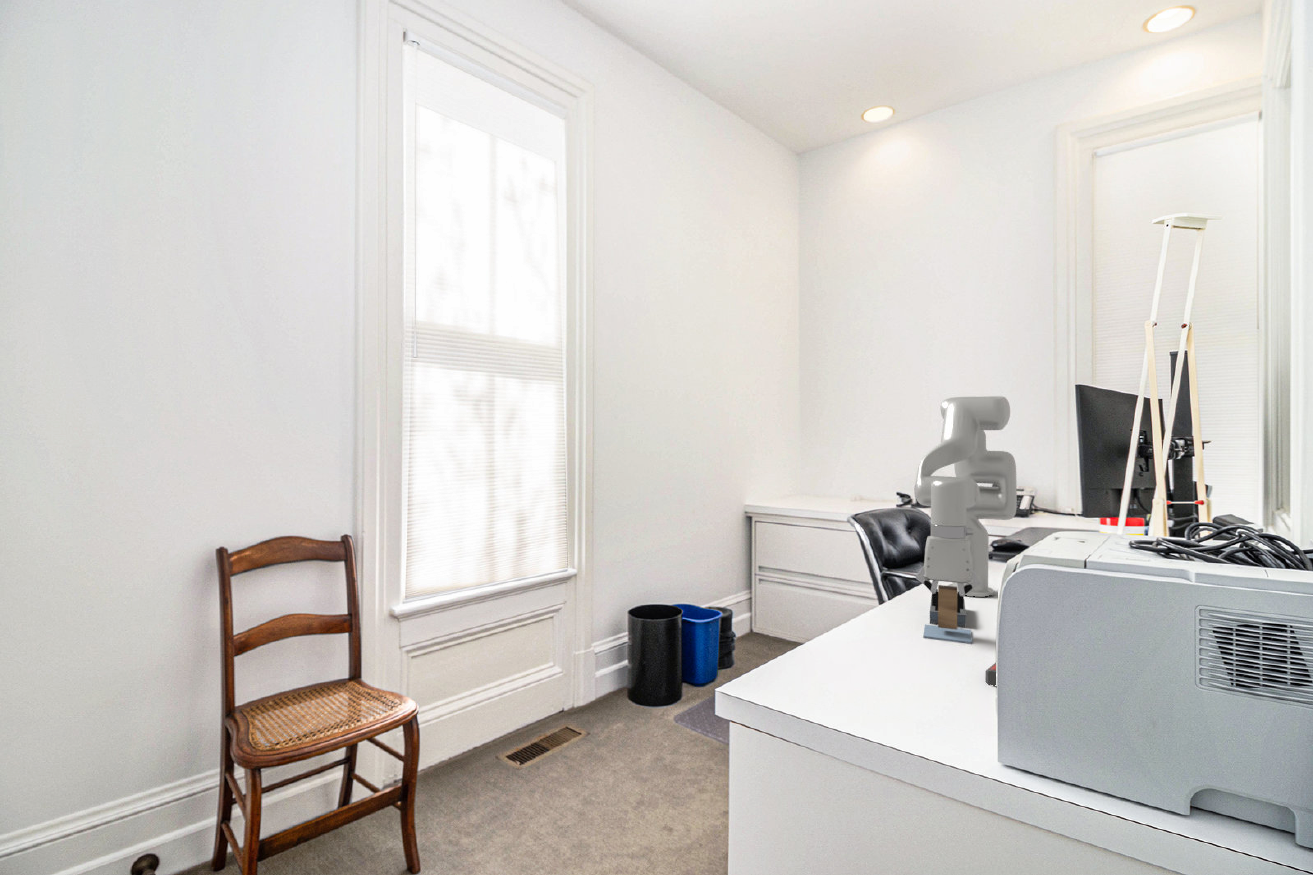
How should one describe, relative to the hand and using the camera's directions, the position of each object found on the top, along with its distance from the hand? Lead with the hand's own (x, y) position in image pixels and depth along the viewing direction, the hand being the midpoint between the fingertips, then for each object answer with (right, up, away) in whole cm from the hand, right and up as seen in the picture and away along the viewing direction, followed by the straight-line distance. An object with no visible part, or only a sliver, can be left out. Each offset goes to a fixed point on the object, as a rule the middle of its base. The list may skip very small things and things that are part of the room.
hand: (947, 609), depth 151 cm
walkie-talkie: (+2, -6, -26) cm, 27 cm away
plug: (0, -4, 0) cm, 4 cm away
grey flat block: (+7, -6, +15) cm, 18 cm away
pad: (0, -6, 0) cm, 6 cm away
